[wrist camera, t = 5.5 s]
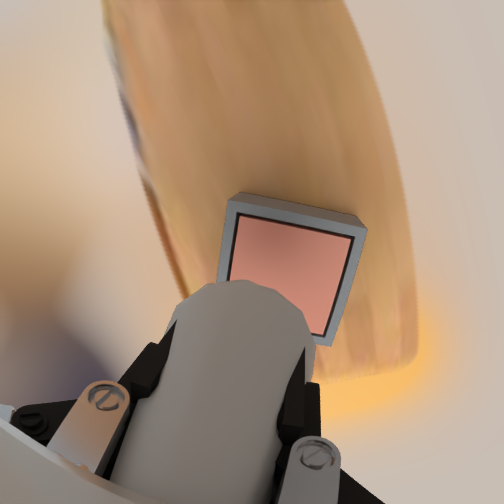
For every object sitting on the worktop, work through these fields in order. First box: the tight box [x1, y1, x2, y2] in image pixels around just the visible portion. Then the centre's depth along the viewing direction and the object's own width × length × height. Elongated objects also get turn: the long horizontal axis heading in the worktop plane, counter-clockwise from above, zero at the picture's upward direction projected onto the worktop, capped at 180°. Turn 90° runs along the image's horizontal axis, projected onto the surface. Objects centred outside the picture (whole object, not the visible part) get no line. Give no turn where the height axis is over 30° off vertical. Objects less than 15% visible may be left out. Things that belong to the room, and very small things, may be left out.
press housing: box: [216, 192, 367, 347], centre depth 28 cm, size 11×11×5 cm
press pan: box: [230, 214, 351, 335], centre depth 26 cm, size 9×9×1 cm
